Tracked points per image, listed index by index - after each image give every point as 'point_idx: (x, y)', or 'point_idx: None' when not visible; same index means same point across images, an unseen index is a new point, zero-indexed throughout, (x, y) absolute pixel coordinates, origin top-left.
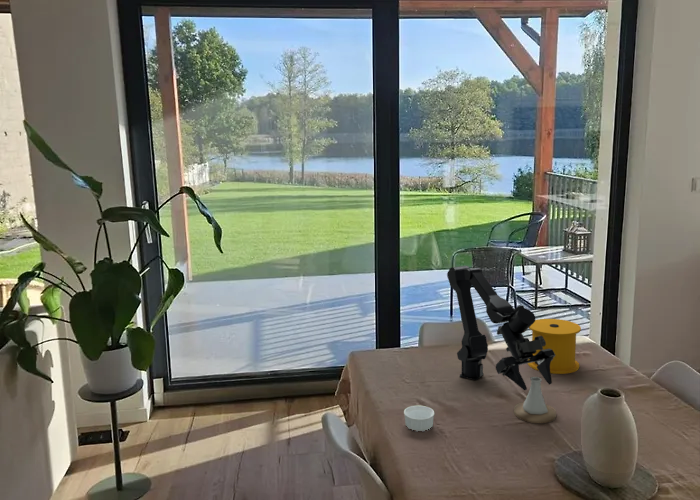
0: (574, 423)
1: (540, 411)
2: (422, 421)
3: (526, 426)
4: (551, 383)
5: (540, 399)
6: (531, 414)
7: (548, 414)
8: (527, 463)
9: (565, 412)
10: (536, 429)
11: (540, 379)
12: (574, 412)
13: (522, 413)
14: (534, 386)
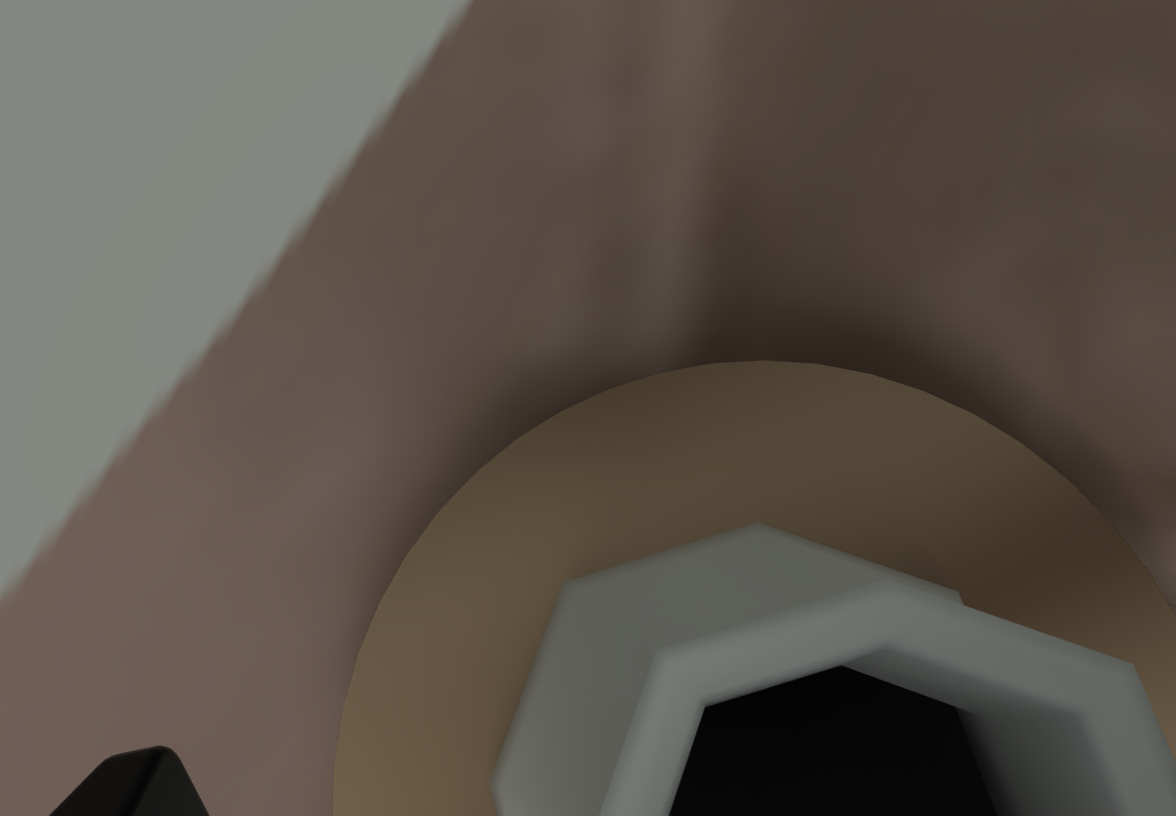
0: (275, 266)
1: (763, 535)
2: None
3: (1140, 350)
4: (140, 752)
5: (734, 600)
6: None
7: (589, 525)
8: None
9: (153, 681)
10: (1004, 217)
11: (681, 742)
12: (2, 636)
13: None
14: (978, 713)
